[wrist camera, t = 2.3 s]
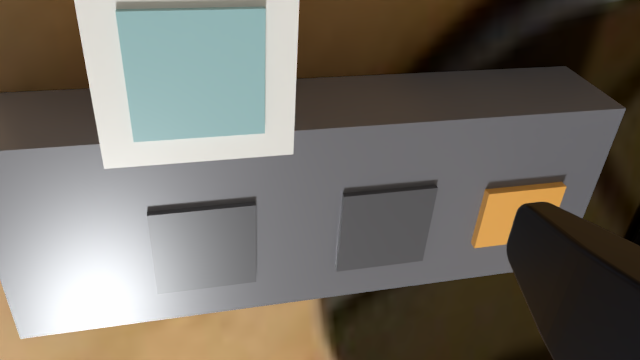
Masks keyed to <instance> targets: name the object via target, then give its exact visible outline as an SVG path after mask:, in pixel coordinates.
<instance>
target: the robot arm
mask: <svg viewBox="0 0 640 360" xmlns="http://www.w3.org/2000/svg"><path fill="white" fill-rule="evenodd" d="M506 253H507V258H508V261H509V263H510V266H511V268H512V270H513V272H514V275H515V277H516V279H517V282H518V284H519V286H520V289H521V291H522V293H523V296H524V298H525V300H526V302H527V305H528V307H529V309H530V312H531V314H532V316H533V319H534V321H535V323H536V326H537V328H538V330H539V332H540V334H541V336H542V339H543V341H544V343H545V345H546V347H547V349H548V350H549V352H550V354H551V356H552V358H553V360H640V222H639V224H638V226H637V228H636V231H635V233H634V235H633V237H632V239H631V241H629V240H627V239H625V238H622V237H620V236H618V235H616V234H614V233H612V232H610V231H608V230H606V229H604V228H601V227H599V226H597V225H595V224H593V223H591V222H589V221H587V220H585V219H583V218H581V217H578V216H576V215H574V214H572V213H570V212H568V211H566V210H564V209H562V208H560V207H557V206H555V205H553V204H551V203H549V202H534V203H525V204H523V205H521V206H520V207H519V208H518V209H517V212H516V215H515V218H514V221H513V225H512V228H511V231H510V234H509V237H508V241H507V245H506Z"/></svg>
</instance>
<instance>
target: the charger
mask: <svg viewBox="0 0 640 360" xmlns="http://www.w3.org/2000/svg"><path fill="white" fill-rule="evenodd" d="M74 3H75V8H76V14H77V20H78V25H79V31H80V37H81V42H82V48H83V53H84V59H85V65H86V70H87V76H88V81H89V87H90V93H91V98H92V104H93V109H94V115H95V121H96V126H97V132H98V138H99V143H100V149H101V154H102V160H103V166H104V169H111V168H124V167H137V166H150V165H163V164H176V163H188V162H201V161H214V160H227V159H240V158H253V157H266V156H279V155H292V154H293V150H294V125H295V99H296V73H297V48H298V22H299V0H74Z"/></svg>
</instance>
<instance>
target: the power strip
mask: <svg viewBox="0 0 640 360" xmlns="http://www.w3.org/2000/svg"><path fill="white" fill-rule="evenodd" d="M625 110H626V108H625V107H623V106H622V105H620V104H619V103H618V102H616V101H615V100H613V99H612V98H610V97H609V96H608V95H606V94H605V93H603V92H602V91H600V90H599V89H598V88H596V87H595V86H593V85H592V84H591V83H589V82H588V81H586V80H585V79H583V78H582V77H581V76H579V75H578V74H576V73H575V72H573V71H572V70H571V69H569V68H568V67H566V66H557V67H535V68H514V69H493V70H472V71H450V72H429V73H408V74H387V75H365V76H344V77H323V78H302V79H296V99H295V125H294V150H293V154H292V155H279V156H266V157H253V158H240V159H227V160H214V161H201V162H188V163H176V164H163V165H150V166H137V167H124V168H111V169H104V166H103V160H102V154H101V149H100V143H99V138H98V132H97V126H96V121H95V115H94V109H93V104H92V98H91V93H90V88H89V89H68V90H46V91H25V92H4V93H0V280H1V283H2V286H3V289H4V292H5V295H6V298H7V301H8V304H9V307H10V310H11V313H12V316H13V319H14V321H15V324H16V327H17V330H18V333H19V336H20V339H23V338H30V337H38V336H45V335H53V334H60V333H67V332H75V331H82V330H89V329H97V328H104V327H111V326H119V325H126V324H133V323H141V322H148V321H156V320H163V319H170V318H178V317H185V316H192V315H200V314H207V313H214V312H222V311H229V310H236V309H244V308H251V307H259V306H266V305H273V304H281V303H288V302H295V301H303V300H310V299H317V298H325V297H332V296H339V295H347V294H354V293H362V292H369V291H376V290H384V289H391V288H398V287H406V286H413V285H420V284H428V283H435V282H442V281H450V280H457V279H465V278H472V277H479V276H487V275H494V274H501V273H509V272H513V270H512V268H511V266H510V263H509V261H508V258H507V253H506V245H507V241H508V237H509V234H510V231H511V228H512V225H513V221H514V218H515V215H516V212H517V209H518V208H519V207H520V206H521V205H523V204H525V203H534V202H549V203H551V204H553V205H555V206H557V207H560V208H562V209H564V210H566V211H568V212H570V213H572V214H574V215H576V216H578V217H581V218H583V216H584V213H585V211H586V208H587V206H588V203H589V201H590V198H591V196H592V193H593V190H594V188H595V185H596V183H597V180H598V178H599V175H600V173H601V170H602V168H603V165H604V163H605V160H606V158H607V155H608V153H609V150H610V147H611V145H612V142H613V140H614V137H615V135H616V132H617V130H618V127H619V125H620V122H621V120H622V117H623V115H624V112H625Z"/></svg>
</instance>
